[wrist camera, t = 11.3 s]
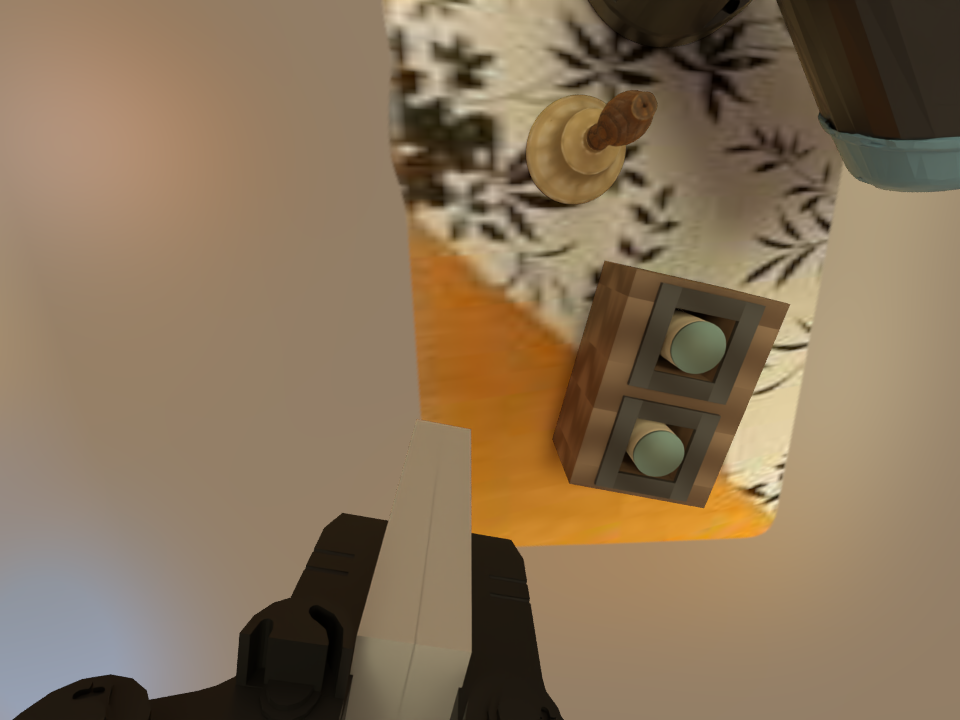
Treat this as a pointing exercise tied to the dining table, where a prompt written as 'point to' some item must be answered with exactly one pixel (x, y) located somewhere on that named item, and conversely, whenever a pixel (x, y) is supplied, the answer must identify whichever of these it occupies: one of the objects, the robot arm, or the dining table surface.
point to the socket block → (659, 382)
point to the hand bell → (585, 143)
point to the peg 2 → (693, 343)
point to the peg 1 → (654, 448)
